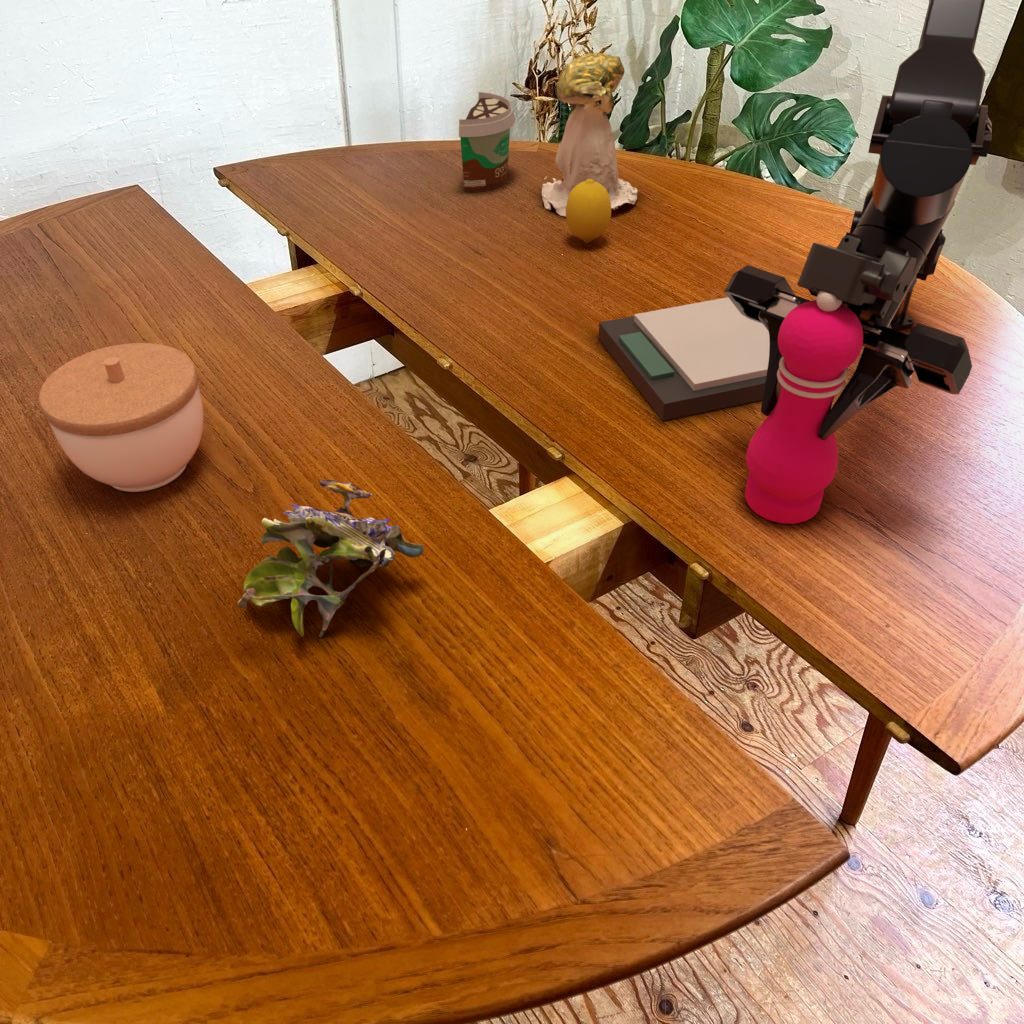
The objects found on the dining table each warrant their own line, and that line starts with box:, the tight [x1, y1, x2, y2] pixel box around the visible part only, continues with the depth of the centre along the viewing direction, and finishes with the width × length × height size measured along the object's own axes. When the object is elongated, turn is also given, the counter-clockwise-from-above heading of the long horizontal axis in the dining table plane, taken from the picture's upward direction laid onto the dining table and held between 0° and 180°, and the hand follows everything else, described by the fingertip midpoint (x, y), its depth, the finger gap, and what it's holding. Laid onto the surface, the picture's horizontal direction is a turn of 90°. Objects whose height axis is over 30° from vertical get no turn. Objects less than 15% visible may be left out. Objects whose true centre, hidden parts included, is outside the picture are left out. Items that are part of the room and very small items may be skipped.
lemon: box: [565, 179, 612, 244], centre depth 117 cm, size 6×6×8 cm
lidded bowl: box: [38, 342, 205, 493], centre depth 82 cm, size 13×13×11 cm
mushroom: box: [541, 52, 639, 218], centre depth 123 cm, size 12×13×18 cm
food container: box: [458, 91, 516, 193], centre depth 132 cm, size 12×6×10 cm, turn 168°
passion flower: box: [237, 479, 425, 638], centre depth 71 cm, size 11×11×12 cm
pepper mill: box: [744, 290, 863, 525], centre depth 75 cm, size 7×7×20 cm
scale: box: [598, 296, 770, 422], centre depth 97 cm, size 19×16×3 cm
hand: (791, 426), depth 75 cm, fingers closed on pepper mill, 4 cm apart
